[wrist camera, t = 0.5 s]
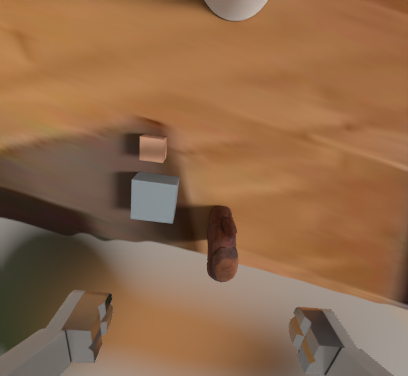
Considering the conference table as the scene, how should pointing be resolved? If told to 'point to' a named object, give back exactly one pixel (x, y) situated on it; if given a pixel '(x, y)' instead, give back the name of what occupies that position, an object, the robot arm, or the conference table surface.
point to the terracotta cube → (153, 147)
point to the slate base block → (154, 197)
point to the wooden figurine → (222, 245)
